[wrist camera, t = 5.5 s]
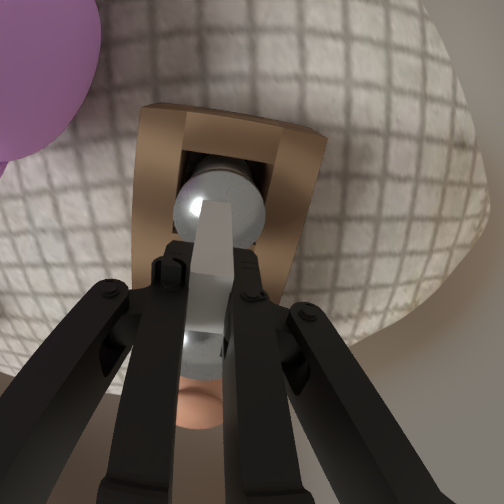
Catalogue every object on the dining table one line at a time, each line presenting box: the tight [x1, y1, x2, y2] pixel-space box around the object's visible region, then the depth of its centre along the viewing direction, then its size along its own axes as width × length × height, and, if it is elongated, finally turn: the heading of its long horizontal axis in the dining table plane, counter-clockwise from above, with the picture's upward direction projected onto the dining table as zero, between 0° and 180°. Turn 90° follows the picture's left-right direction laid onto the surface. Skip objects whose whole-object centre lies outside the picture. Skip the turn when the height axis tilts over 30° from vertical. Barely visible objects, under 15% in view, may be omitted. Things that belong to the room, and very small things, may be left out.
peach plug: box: [176, 376, 223, 429], centre depth 25 cm, size 5×5×7 cm
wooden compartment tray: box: [131, 103, 328, 305], centre depth 26 cm, size 27×12×5 cm, turn 169°
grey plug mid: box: [180, 330, 224, 381], centre depth 22 cm, size 5×5×7 cm
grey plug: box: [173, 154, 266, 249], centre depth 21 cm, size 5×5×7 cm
